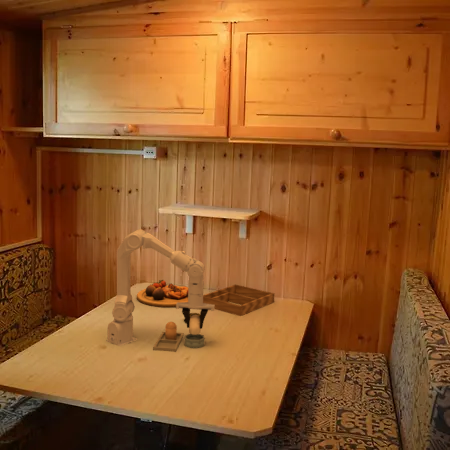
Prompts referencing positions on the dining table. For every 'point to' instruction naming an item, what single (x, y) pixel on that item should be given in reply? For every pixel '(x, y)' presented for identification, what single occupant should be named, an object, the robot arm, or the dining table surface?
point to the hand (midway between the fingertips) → (194, 327)
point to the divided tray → (168, 343)
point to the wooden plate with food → (163, 294)
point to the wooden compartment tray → (238, 299)
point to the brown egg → (171, 331)
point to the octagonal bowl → (194, 341)
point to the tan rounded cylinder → (194, 325)
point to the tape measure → (193, 314)
